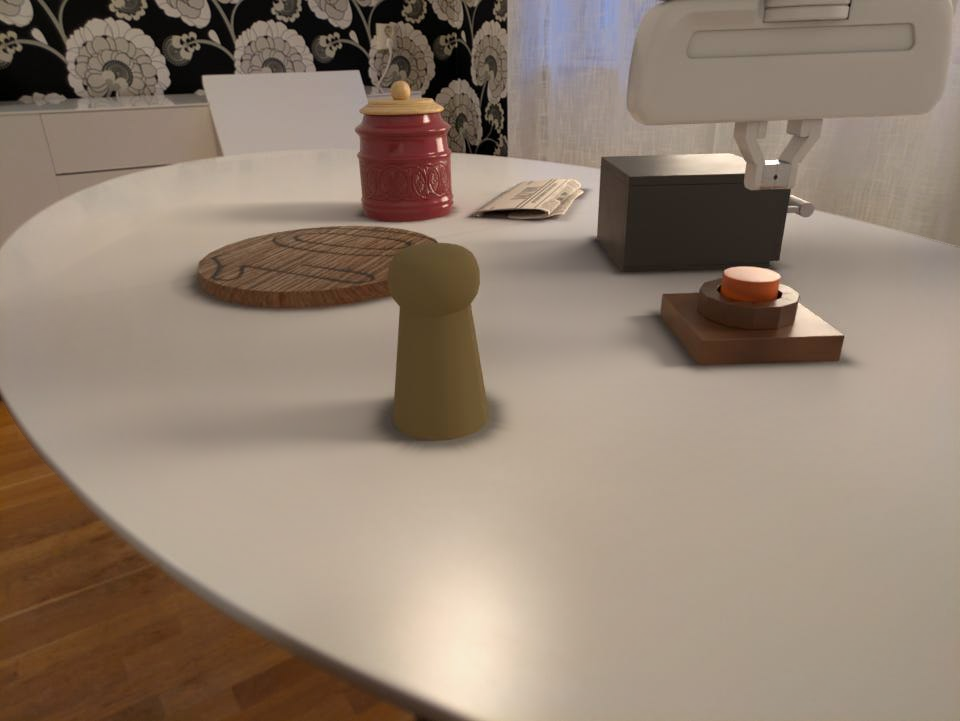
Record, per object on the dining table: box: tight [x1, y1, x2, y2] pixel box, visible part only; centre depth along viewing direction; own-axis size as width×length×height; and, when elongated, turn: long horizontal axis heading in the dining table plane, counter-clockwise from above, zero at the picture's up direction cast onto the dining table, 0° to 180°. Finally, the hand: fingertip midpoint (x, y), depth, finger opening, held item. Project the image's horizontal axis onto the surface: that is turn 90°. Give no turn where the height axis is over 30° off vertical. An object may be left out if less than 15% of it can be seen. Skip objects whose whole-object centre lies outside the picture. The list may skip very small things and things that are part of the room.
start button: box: [720, 266, 782, 302], centre depth 50 cm, size 4×4×2 cm
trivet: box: [196, 225, 439, 309], centre depth 71 cm, size 25×25×2 cm
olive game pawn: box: [387, 242, 490, 442], centre depth 39 cm, size 6×6×11 cm
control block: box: [659, 277, 845, 366], centre depth 51 cm, size 10×10×4 cm
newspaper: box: [473, 178, 585, 220], centre depth 100 cm, size 23×12×2 cm, turn 161°
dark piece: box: [770, 189, 815, 262], centre depth 72 cm, size 18×13×8 cm
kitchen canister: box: [354, 80, 454, 223], centre depth 92 cm, size 13×13×18 cm
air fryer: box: [596, 152, 782, 274], centre depth 72 cm, size 15×14×10 cm
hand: (768, 188), depth 47 cm, fingers closed
